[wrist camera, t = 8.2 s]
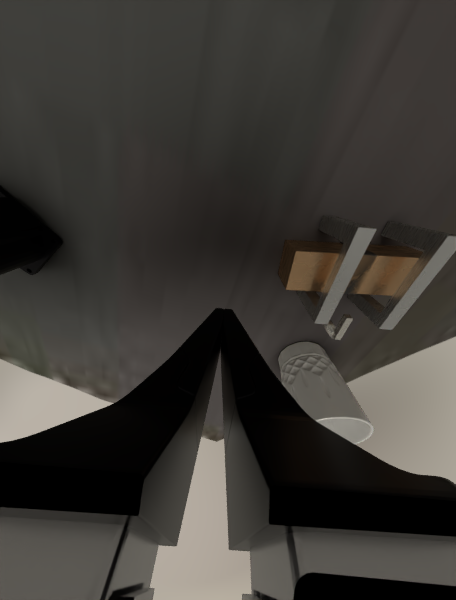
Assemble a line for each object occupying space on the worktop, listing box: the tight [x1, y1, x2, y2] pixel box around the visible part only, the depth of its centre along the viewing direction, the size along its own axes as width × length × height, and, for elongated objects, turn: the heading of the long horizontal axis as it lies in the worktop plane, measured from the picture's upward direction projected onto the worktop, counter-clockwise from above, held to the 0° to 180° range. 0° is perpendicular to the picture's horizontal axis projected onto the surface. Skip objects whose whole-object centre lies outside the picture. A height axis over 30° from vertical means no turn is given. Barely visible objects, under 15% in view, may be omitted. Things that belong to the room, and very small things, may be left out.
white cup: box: [278, 342, 374, 445], centre depth 22 cm, size 8×8×10 cm
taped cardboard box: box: [278, 240, 423, 296], centre depth 17 cm, size 12×4×4 cm, turn 87°
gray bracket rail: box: [297, 216, 456, 340], centre depth 17 cm, size 7×11×5 cm, turn 175°
